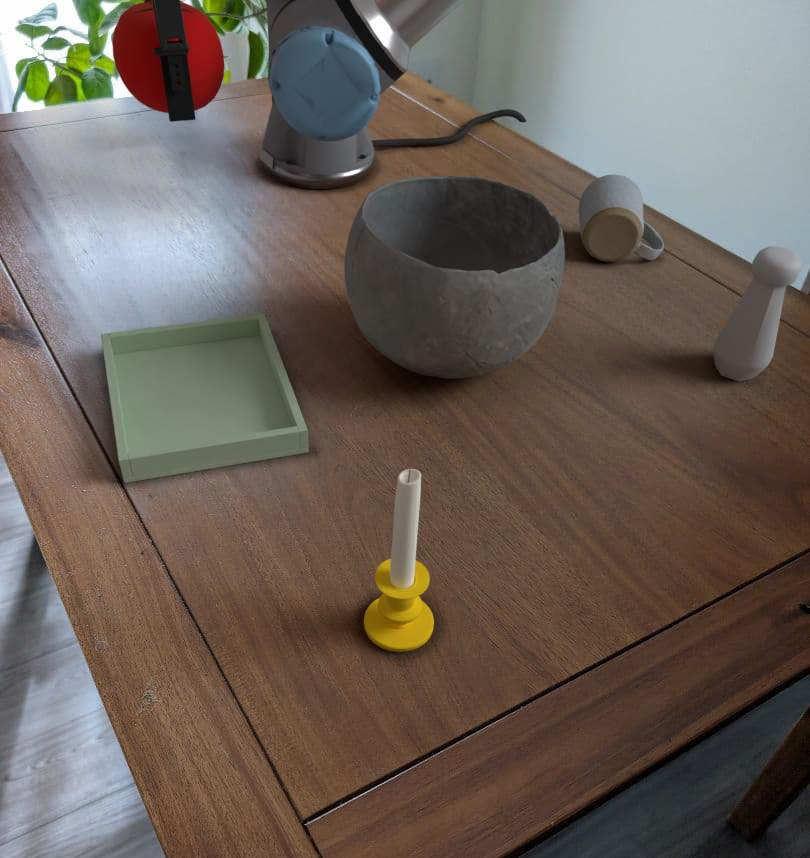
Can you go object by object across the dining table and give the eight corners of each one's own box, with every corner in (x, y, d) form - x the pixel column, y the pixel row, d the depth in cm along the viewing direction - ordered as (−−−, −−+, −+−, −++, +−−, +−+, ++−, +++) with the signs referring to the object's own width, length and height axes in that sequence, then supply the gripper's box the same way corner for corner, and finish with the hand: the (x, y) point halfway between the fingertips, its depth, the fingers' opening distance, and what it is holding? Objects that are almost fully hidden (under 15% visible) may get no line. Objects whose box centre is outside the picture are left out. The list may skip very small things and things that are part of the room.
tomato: (242, 118, 95) (232, 12, 88) (138, 133, 92) (118, 24, 84) (210, 81, 103) (198, -20, 95) (112, 93, 99) (91, -11, 91)
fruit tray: (266, 335, 89) (264, 313, 87) (308, 452, 77) (307, 430, 75) (106, 356, 85) (100, 333, 83) (124, 483, 73) (118, 460, 71)
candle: (362, 651, 62) (366, 497, 51) (364, 596, 66) (369, 439, 54) (434, 653, 62) (454, 500, 51) (432, 598, 66) (451, 443, 55)
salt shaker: (765, 361, 90) (815, 246, 81) (762, 392, 87) (814, 275, 77) (709, 348, 91) (751, 233, 82) (704, 378, 88) (748, 261, 78)
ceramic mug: (575, 262, 102) (589, 200, 97) (572, 230, 108) (586, 169, 102) (663, 272, 102) (683, 211, 97) (656, 239, 108) (674, 179, 102)
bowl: (395, 437, 79) (404, 291, 68) (314, 321, 91) (311, 181, 80) (582, 388, 85) (618, 248, 74) (483, 286, 98) (501, 153, 87)
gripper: (89, -169, 87) (129, 62, 103) (108, -119, 72) (153, 144, 88) (164, -169, 89) (192, 58, 105) (199, -120, 74) (226, 138, 89)
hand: (174, 97), depth 96 cm, fingers closed on tomato, 12 cm apart
